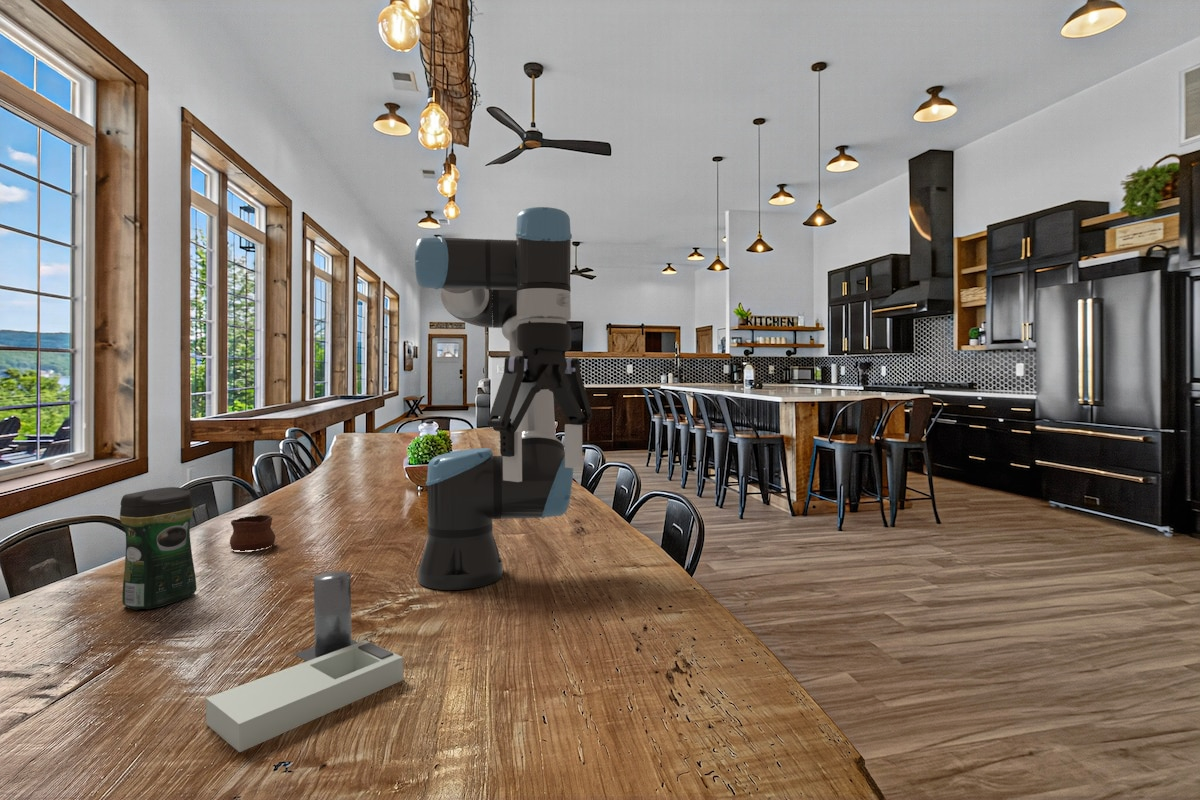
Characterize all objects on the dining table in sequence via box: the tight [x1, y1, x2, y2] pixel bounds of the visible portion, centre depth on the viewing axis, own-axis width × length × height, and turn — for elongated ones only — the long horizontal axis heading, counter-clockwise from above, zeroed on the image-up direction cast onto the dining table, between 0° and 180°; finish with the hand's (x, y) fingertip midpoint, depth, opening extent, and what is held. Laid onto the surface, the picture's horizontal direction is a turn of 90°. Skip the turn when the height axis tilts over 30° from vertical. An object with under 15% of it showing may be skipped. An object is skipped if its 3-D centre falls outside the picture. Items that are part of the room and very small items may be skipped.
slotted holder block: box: [205, 639, 404, 753], centre depth 68 cm, size 8×18×3 cm, turn 142°
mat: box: [294, 638, 359, 662], centre depth 80 cm, size 7×7×1 cm
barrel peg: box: [313, 570, 352, 658], centre depth 80 cm, size 4×4×10 cm
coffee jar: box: [119, 486, 197, 611], centre depth 100 cm, size 10×8×19 cm
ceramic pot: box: [229, 514, 276, 551], centre depth 133 cm, size 18×18×7 cm
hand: (545, 474), depth 86 cm, fingers open, 13 cm apart
